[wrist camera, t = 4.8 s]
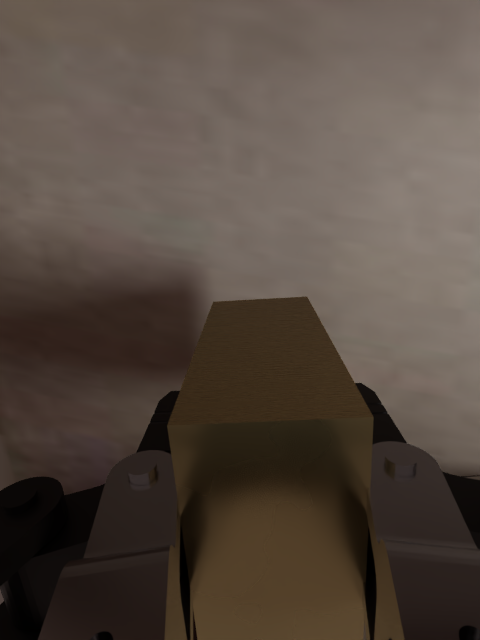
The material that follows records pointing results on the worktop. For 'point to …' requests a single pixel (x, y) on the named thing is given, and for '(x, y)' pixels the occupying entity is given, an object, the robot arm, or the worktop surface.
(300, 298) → the tall khaki box
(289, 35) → the worktop surface
